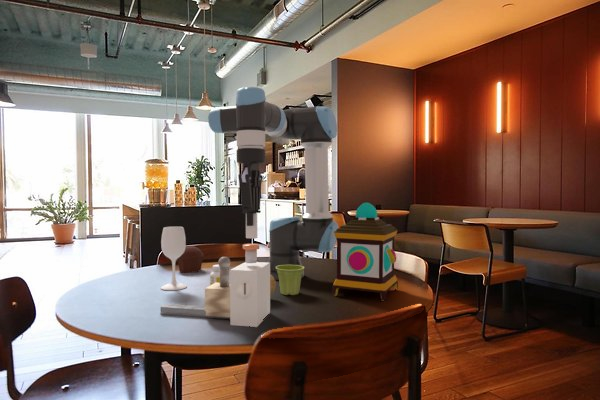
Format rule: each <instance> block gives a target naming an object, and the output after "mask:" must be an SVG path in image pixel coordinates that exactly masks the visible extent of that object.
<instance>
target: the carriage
mask: <svg viewBox="0 0 600 400" xmlns="http://www.w3.org/2000/svg"><path fill="white" fill-rule="evenodd" d="M217 264H219V266H220V283H217V282H216V283H214V284H212V285H208V286H207V287H205V288H204V306H205V311H206V316H217V317H230V266H231V259H230V258H229V257H227V256H221V257H220V258H219V259H218V263H217Z"/></svg>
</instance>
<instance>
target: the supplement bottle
mask: <svg viewBox="0 0 600 400" xmlns="http://www.w3.org/2000/svg"><path fill="white" fill-rule="evenodd" d="M209 276H210V279H209V280H210V282H209V283H210V285H212V284H214V283H216V282H217V283H220V266H219V264H218V263H217V264H213V265H212V272H210V275H209ZM210 285H209V286H210Z"/></svg>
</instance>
